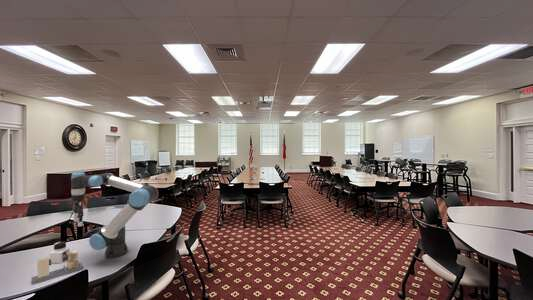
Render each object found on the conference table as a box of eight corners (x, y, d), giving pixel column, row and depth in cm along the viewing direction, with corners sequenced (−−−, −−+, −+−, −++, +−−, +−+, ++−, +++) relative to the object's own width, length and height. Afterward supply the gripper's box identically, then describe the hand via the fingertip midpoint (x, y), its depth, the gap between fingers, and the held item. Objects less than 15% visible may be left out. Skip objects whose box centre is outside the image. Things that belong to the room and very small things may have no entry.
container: (69, 258, 169) (69, 240, 169) (60, 263, 162) (60, 245, 161) (59, 258, 169) (59, 240, 169) (49, 263, 161) (49, 245, 161)
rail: (81, 265, 159) (81, 248, 158) (83, 269, 154) (83, 251, 154) (31, 280, 141) (31, 261, 141) (32, 284, 137) (31, 264, 137)
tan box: (77, 264, 156) (77, 250, 156) (78, 266, 153) (78, 251, 153) (65, 268, 152) (65, 253, 152) (66, 270, 149) (66, 255, 149)
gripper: (88, 196, 159) (88, 226, 159) (81, 191, 176) (81, 218, 176) (74, 197, 153) (74, 229, 154) (68, 192, 170) (68, 221, 170)
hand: (78, 223), depth 165 cm, fingers open, 13 cm apart
